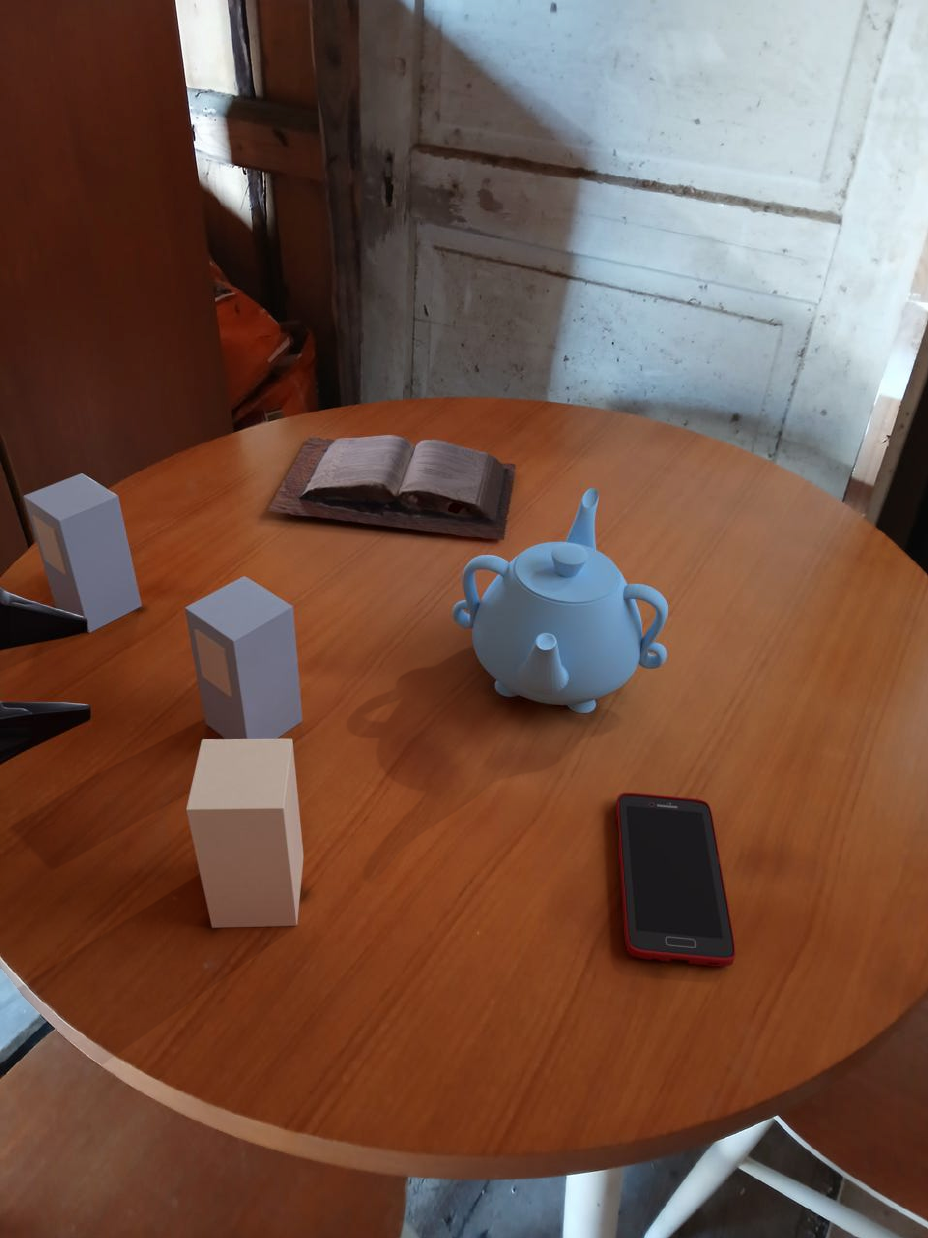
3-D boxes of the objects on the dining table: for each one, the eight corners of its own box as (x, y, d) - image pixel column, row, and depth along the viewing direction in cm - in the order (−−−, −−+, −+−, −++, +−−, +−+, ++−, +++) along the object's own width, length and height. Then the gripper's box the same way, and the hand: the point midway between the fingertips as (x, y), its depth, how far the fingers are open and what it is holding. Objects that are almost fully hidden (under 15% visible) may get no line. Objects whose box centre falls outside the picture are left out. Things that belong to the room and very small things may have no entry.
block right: (247, 759, 77) (230, 642, 68) (203, 724, 79) (182, 608, 71) (302, 721, 80) (292, 606, 72) (258, 689, 83) (244, 575, 75)
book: (504, 547, 104) (508, 512, 101) (265, 516, 105) (264, 481, 103) (515, 472, 120) (519, 441, 118) (308, 446, 122) (308, 414, 119)
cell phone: (625, 959, 64) (627, 952, 63) (614, 798, 75) (616, 790, 75) (735, 970, 63) (738, 962, 63) (707, 806, 75) (710, 799, 74)
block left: (87, 634, 88) (56, 521, 80) (53, 608, 91) (20, 496, 83) (142, 606, 92) (118, 495, 84) (108, 581, 95) (81, 472, 87)
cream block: (208, 928, 64) (182, 809, 56) (221, 857, 69) (198, 739, 61) (297, 926, 65) (283, 808, 56) (303, 856, 69) (292, 738, 61)
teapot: (577, 598, 97) (595, 484, 88) (682, 718, 83) (716, 597, 74) (437, 632, 91) (442, 514, 82) (525, 768, 77) (542, 643, 69)
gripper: (-255, 669, 44) (95, 662, 50) (-180, 479, 57) (87, 493, 64) (-216, 824, 50) (91, 801, 56) (-156, 619, 63) (85, 619, 70)
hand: (88, 666), depth 61 cm, fingers open, 9 cm apart
